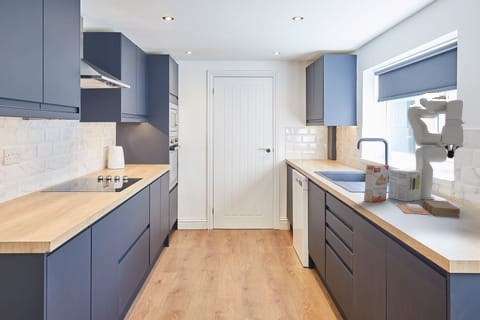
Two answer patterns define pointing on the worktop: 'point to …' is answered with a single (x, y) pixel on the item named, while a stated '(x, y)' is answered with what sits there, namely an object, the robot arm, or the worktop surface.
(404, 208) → the rubber mat
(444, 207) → the walnut block
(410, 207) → the ceramic tile
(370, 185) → the cracker box
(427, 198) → the robot arm
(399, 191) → the supplement box
